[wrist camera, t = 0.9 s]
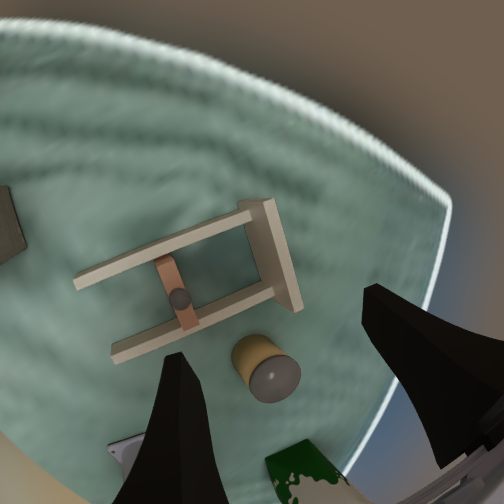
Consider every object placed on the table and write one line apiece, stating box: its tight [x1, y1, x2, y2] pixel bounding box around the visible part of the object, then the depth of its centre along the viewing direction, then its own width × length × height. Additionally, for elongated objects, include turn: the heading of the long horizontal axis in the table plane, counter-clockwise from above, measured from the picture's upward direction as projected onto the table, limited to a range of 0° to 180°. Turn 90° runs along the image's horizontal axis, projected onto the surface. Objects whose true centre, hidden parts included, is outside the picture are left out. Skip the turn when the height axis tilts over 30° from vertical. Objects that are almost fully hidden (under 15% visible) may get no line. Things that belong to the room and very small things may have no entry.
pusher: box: [153, 253, 200, 331], centre depth 25 cm, size 6×2×5 cm, turn 18°
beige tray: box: [73, 198, 304, 365], centre depth 25 cm, size 10×18×6 cm, turn 108°
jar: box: [231, 334, 301, 403], centre depth 29 cm, size 5×5×6 cm
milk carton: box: [265, 439, 374, 504], centre depth 28 cm, size 9×9×20 cm
